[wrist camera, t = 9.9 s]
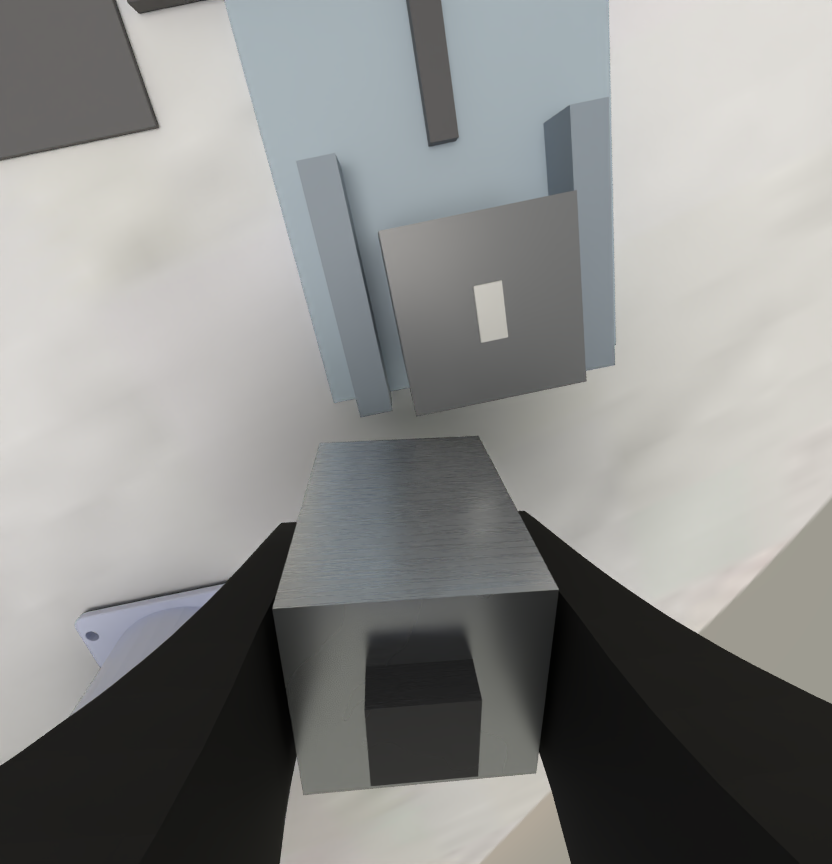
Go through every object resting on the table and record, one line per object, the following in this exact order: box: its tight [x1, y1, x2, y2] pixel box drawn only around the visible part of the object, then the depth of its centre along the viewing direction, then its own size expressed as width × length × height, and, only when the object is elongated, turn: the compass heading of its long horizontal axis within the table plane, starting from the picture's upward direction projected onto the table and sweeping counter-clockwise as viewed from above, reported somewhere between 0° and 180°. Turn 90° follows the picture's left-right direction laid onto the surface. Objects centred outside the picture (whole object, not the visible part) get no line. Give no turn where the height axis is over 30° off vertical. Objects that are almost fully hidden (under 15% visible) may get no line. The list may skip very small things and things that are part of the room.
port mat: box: [0, 0, 159, 160], centre depth 12 cm, size 6×6×1 cm
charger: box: [378, 190, 586, 416], centre depth 12 cm, size 4×4×6 cm
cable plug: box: [272, 436, 559, 795], centre depth 8 cm, size 4×4×6 cm
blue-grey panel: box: [127, 0, 616, 417], centre depth 13 cm, size 14×12×3 cm
